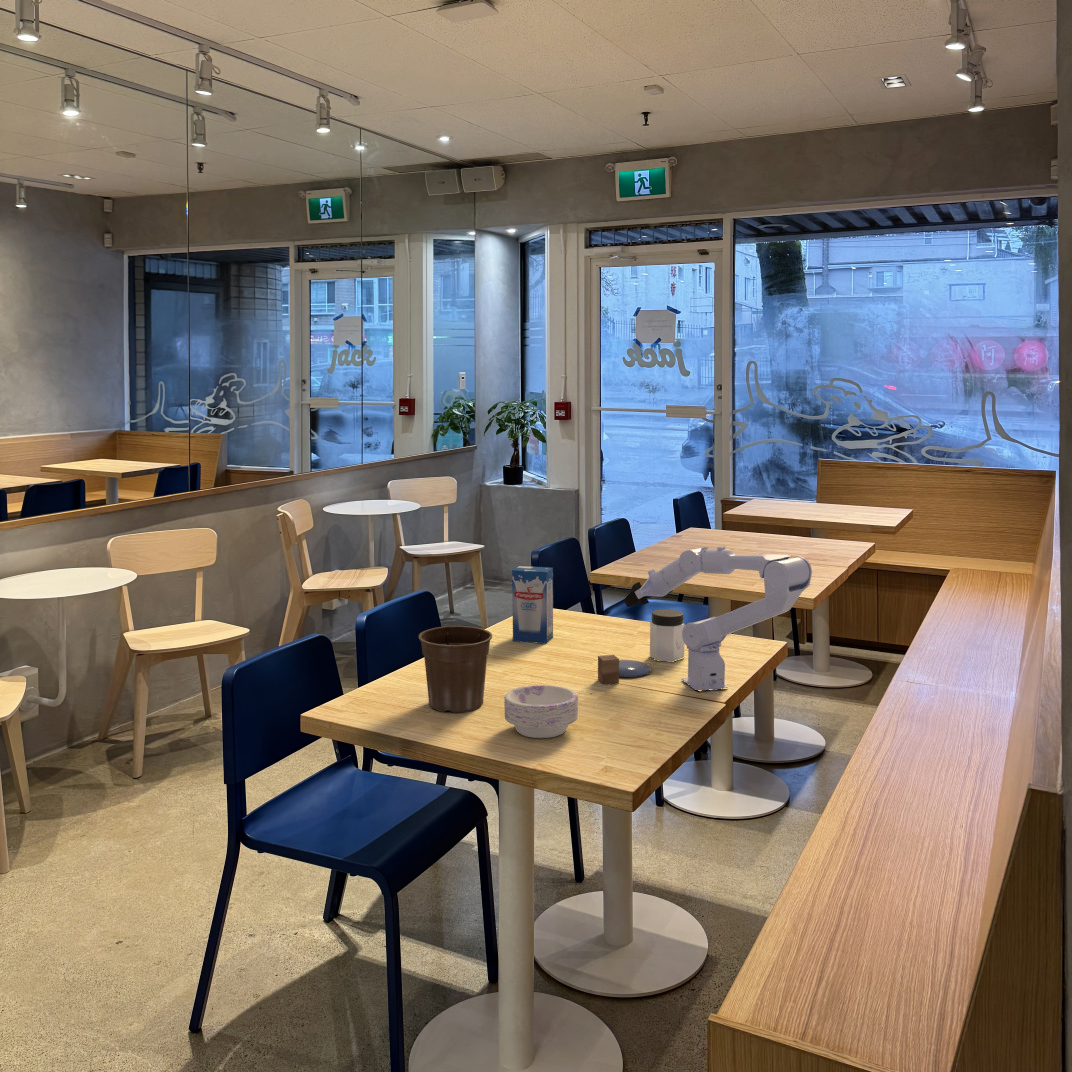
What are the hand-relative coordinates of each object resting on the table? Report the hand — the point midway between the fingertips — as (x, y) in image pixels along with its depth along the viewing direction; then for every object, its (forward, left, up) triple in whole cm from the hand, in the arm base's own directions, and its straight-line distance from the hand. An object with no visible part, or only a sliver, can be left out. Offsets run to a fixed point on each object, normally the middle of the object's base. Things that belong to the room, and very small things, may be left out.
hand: (635, 598), depth 249 cm
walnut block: (-11, +11, -17) cm, 23 cm away
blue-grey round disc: (-4, +4, -17) cm, 18 cm away
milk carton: (+31, +19, -17) cm, 40 cm away
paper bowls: (-39, +35, -17) cm, 55 cm away
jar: (+4, -10, -17) cm, 20 cm away
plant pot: (-18, +49, -17) cm, 55 cm away
